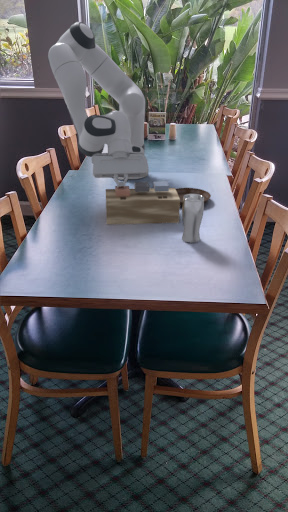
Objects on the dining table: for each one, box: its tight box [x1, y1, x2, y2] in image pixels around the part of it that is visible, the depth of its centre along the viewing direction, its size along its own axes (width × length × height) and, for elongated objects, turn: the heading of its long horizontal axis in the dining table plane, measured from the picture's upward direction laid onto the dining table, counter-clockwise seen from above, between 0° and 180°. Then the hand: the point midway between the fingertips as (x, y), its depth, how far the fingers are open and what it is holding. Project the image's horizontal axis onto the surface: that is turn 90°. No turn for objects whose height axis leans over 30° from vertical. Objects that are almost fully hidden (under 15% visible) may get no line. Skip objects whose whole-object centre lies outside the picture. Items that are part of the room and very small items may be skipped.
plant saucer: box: [175, 187, 212, 207], centre depth 184 cm, size 18×18×3 cm
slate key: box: [152, 180, 170, 191], centre depth 166 cm, size 5×5×2 cm
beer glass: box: [181, 194, 205, 244], centre depth 150 cm, size 7×7×15 cm
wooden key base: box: [105, 187, 181, 226], centre depth 167 cm, size 12×26×9 cm, turn 95°
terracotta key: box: [114, 185, 131, 196], centre depth 165 cm, size 5×5×2 cm
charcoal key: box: [133, 181, 150, 192], centre depth 165 cm, size 5×5×2 cm
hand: (121, 187), depth 164 cm, fingers closed, pressing on terracotta key
